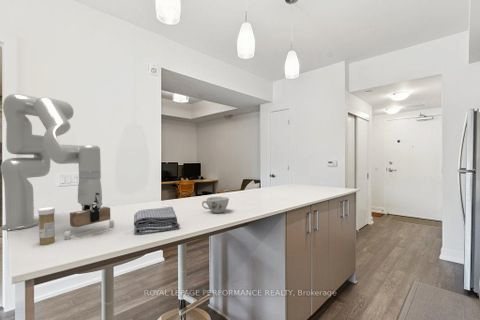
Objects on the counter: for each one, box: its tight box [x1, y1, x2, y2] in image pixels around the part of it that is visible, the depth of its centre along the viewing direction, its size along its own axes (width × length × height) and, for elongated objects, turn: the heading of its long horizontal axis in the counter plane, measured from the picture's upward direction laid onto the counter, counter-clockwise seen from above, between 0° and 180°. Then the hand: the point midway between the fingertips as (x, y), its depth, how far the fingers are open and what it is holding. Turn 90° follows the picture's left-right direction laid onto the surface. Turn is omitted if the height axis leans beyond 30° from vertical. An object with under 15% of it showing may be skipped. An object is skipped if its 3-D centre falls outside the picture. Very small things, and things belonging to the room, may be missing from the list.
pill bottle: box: [37, 206, 56, 246], centre depth 85 cm, size 5×5×13 cm
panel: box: [64, 219, 115, 241], centre depth 97 cm, size 16×20×4 cm
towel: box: [133, 206, 180, 235], centre depth 105 cm, size 15×18×8 cm
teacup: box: [201, 196, 230, 214], centre depth 132 cm, size 15×12×8 cm
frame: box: [69, 206, 111, 228], centre depth 96 cm, size 5×13×5 cm, turn 149°
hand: (91, 220), depth 96 cm, fingers closed on frame, 5 cm apart
